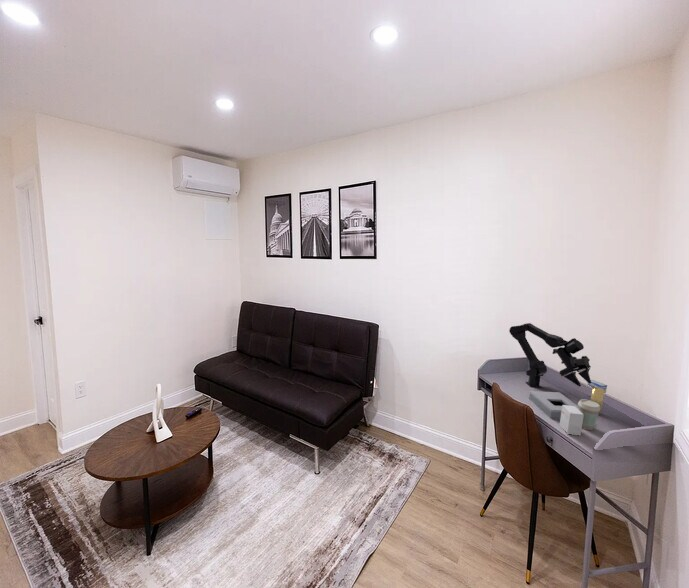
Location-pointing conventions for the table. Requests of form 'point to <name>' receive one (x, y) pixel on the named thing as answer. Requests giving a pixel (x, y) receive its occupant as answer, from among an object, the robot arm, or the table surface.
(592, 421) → the coffee cup
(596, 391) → the brass cylinder
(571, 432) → the small box
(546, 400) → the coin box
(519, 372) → the table surface
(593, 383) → the medicine box
